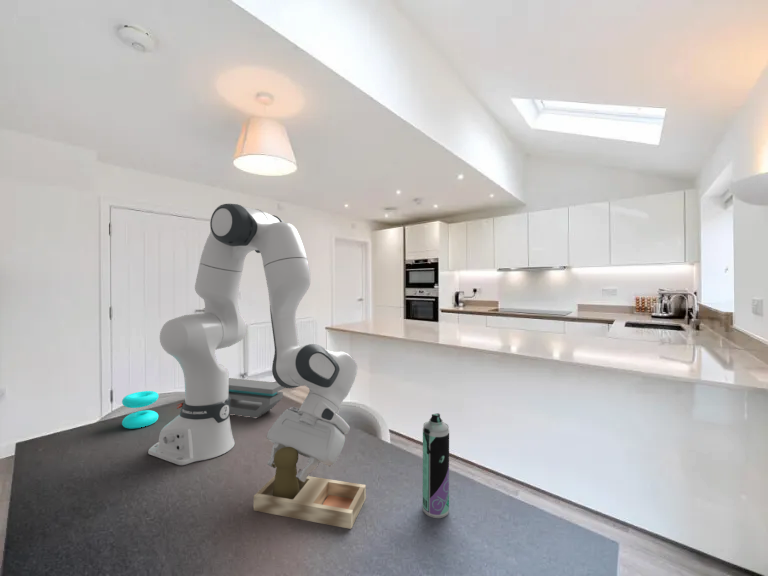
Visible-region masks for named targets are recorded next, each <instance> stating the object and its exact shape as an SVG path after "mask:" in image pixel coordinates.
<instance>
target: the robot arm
mask: <svg viewBox="0 0 768 576" xmlns="http://www.w3.org/2000/svg"><path fill="white" fill-rule="evenodd" d="M209 224H210V225H209V226H210V232H209V234H208V237H207V239H206V240H205V241H206V242H205V244H204V245H203V250H202V253H201V255H200V260H199V266H198V270H197V274H196V278H195V284H194V290H195V293H196V294H197V295H198V297H200V298H201V299H202V300H203V301H204V311H203V313H202V312H201V313H194V314H193V313H191V314H184V315H181V316H179V317H174V318H171V319H169V320H167V321H166V322H165V323H164V324H163V325H162V327H161V329H160V332H159V343H160V346H161V347H162V349H163V350H164V351H165V352H166V354H168V355H170V356H172V357H173V358H174V359H175V360H176V362H178V364H179V365H180V367H181V371H182V373H183V378H184V399H185V400H184V401H183V402H180V403H178V404H176V406H177V407H176V409H177V410H178V409H180V412H179V414H178V415H176V416H175V417H174V419H172V420H171V421H170V422H168V423H167V424H165V425H164V427H162V428H161V430H160V432H159V436H158V442H156V443H155V444H153V445H152V446H151V447H149V449H148V452H147V454H148V455H150V456H153V457H156V458H159V459H161V460H164V461H166V462H170V463H173V464H175V465H177V466H185V465H188V464H192V463H195V462H199V461H205V460H209V459H214V458H216V457H219V456H221V455H224V454H225V453H227V452H229V451H231V450H232V449H233V447H234V446H235V443H236V442H235V440H234V436H233V431H232V425H231V419H230V415H229V413H230V396H229V378H230V377H229V375H230V373H229V371H228V368H227V367H226V366H224V365H223V364H221V363H219V362H218V359H217V357H216V350H219V349H220V350H221V349H225V348H229V347H232V346H233V345H235V344H237V343H239V342H241V341H243V339H244V338H245V336H246V334H247V331H248V326H247V325H248V324H247V321H246V319H245V318H244V316H242V314H241V313H240V309H239V302H238V301H239V300H238V297H239V289H240V284H241V279H242V275H243V270H244V265H245V259H246V258H247V255H248V254H249V253H250V252H252V251H255V253H257V254H260V255H261V259H262V265H263V270H264V276H265V280H266V286H267V293H268V300H269V311H270V312H269V313H270V314H269V315H270V321H271V328H272V330H271V331H272V336H273V344H274V355H273V360H272V367H271V371H272V373H271V374H272V375H273V379H274V381H275V382H276V383H278V384H279V385H281V386H282V387H285V388H284V389H295V388H299V387H303V386H306V387H307V388H308V389H309V392H308V393H307V395H306V397H305V398H304V400H303V402H302V403H301V405H300V407H299V408H298V407H296V406H290V407H289V408H287V409H285V410H284V411H283V413H281V414H280V415H279V416H278V417H277V419H276V420H275V421H274V422H273V424H272V425H271V427H270V428H269V430H268V431H267V433H266V439H267V440H268V441H270V442H271V443H273V445H272V446H271V453H270V458H269V459H268V461H267V465H268V466H269V467H271V468H273V469H276V466H275V464H274V455H275V453H276V452H277V451H278V450H279V449H281V448H284V447H293V448H295V449H296V450H297V451H298V455H301V456H303V457H306V458H308V460H307V462H308V463H307V464H306V465H305V467H303V469H301V468H299V469H298V471H297V475H296V478H297V479H298V480H300V481H302V482H305V480H306V478H307V477H308V476H310V474H311V473H312V472H314V471H315V470H316V469H317V468H318V466H319V464H320V463H321V464H323V465H325V466H328V467H332V466H333V465H335V463H336V462H337V461H338V459H339V457H340V455H341V453H342V450H343V448H344V444H345V443H346V442H345V441H346V436H345V435H347V434H348V433H349V432H350V429H351V427H350V425H349V424H348V423H347V421H345V419H344V418H343V417H341V415H340V414H339V412H341V407H342V404H343V401H344V400H345V399H346V398H347V397H348V395H349V393H350V391H351V389H352V387H353V385H354V383H355V381H356V378H357V376H358V375H357V374H358V364H357V361H356V360H355V358H354V357H352V356H351V355H350V354H349V353H347V352H345V351H343V350H337V351H335V350H329V349H327V348H325V347H323V346H322V345H319V344H314V343H311V344H310V343H309V344H305V345H301V346H300V343H299V336H298V329H297V319H296V318H297V317H296V315H297V314H296V313H297V310H298V307H299V305H300V304H301V301H302V299H303V297H304V296H305V295H306V294H307V292H308V290H309V289H310V287H311V270H310V265H309V261H308V257H307V252H306V249H305V246H304V244H303V240H302V238H301V235H300V234H299V232H298V229H297V227H295V226H294V225H293V224H292V223H289V222H286V221H284V220H283V219H281V218H280V217H279V216H277V215H273V214H270V213H269V212H266V211H264V210H261V209H258V208H253V207H247V206H242V205H241V204H238V203H237V204H236V203H223V204H220V205H218V206H217V207H216V208H215V209H214V210H213V213H212V215H211V217H210V223H209Z"/></svg>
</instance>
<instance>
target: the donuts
mask: <svg viewBox="0 0 768 576" xmlns="http://www.w3.org/2000/svg"><path fill="white" fill-rule="evenodd" d="M159 398H160V397H159V393H158V392H157V391H153V390H142V391H137V392H133V393H130V394H127V395H126V396H124V397H123V399H122V401H121V404H122V405H123V406H124V407H125V408H128V409H129V408H130V409H137V408H144V407H147V406H150V405H153V404H154V403H156V402H157V401H158V399H159ZM158 419H159V414H158V412H156V411H155V410H150V409H147V410H146V409H145V410H138V411H134V412H132V413H130V414H127V416H125V417H123V419H122V422H121V425H122V426H123V428H125V429H130V430H131V429H141V427H142V428H146V427H149V426H151V425H153V424H154V423H156V422H157V421H158ZM145 426H146V427H145Z"/></svg>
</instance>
